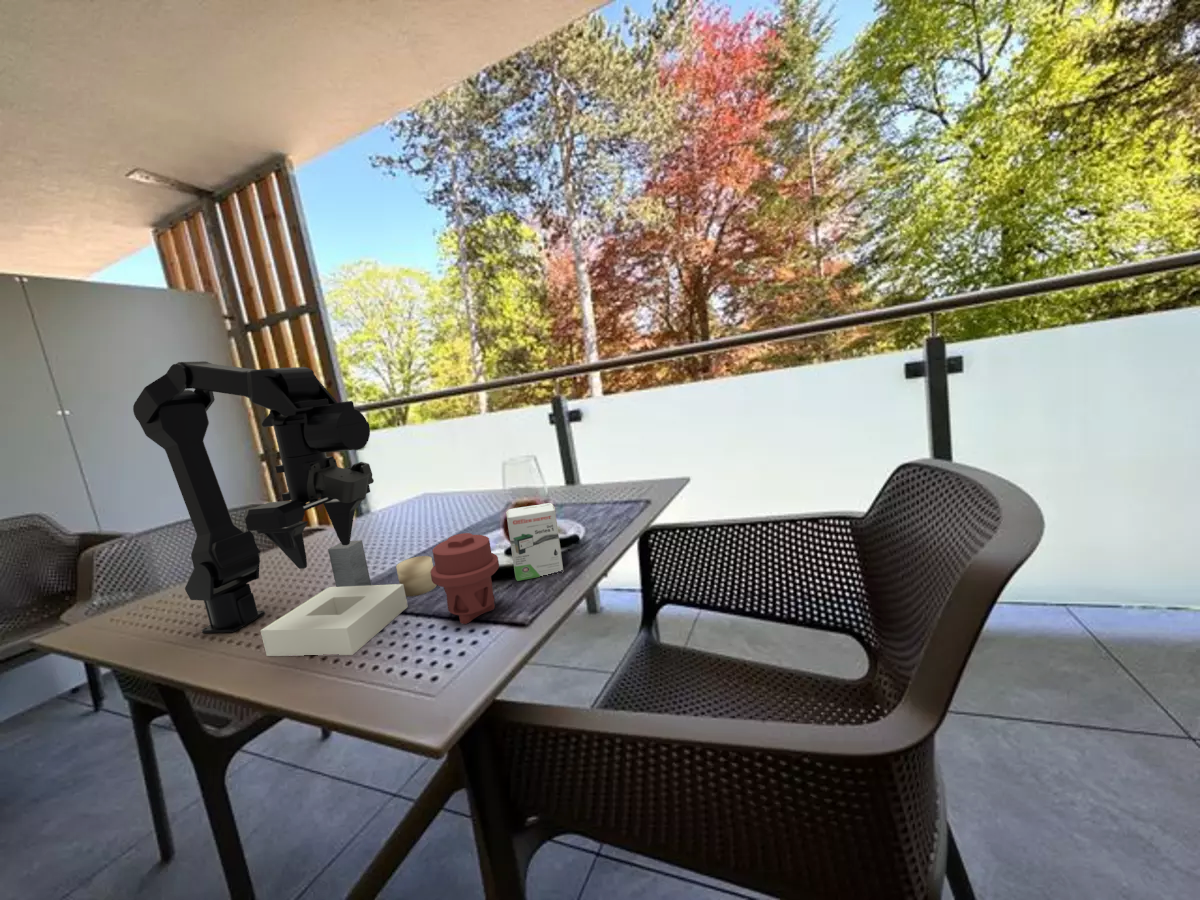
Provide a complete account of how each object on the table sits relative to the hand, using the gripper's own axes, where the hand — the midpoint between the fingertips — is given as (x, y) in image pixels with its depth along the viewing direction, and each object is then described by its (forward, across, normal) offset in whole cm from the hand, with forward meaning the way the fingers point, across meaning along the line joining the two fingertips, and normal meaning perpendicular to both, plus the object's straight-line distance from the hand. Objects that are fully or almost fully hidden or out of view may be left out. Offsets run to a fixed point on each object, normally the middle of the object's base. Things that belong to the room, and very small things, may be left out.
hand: (325, 555), depth 77 cm
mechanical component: (+12, +4, -20) cm, 24 cm away
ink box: (+12, +19, -26) cm, 34 cm away
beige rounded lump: (+12, +14, -5) cm, 19 cm away
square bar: (+12, +14, +8) cm, 20 cm away
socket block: (+12, 0, 0) cm, 12 cm away
